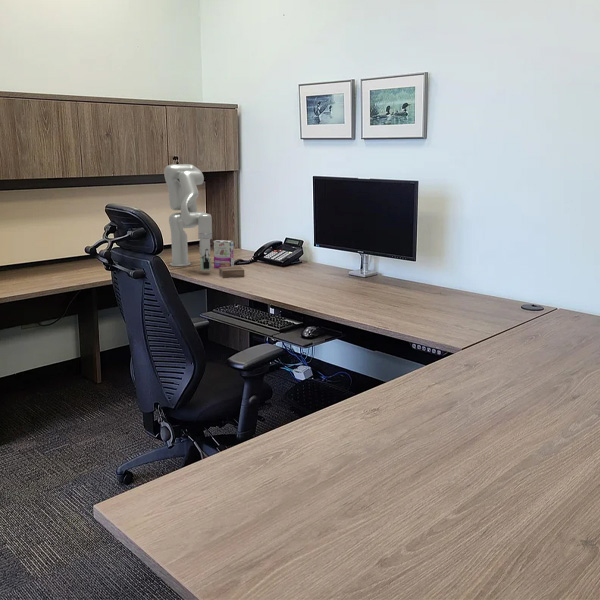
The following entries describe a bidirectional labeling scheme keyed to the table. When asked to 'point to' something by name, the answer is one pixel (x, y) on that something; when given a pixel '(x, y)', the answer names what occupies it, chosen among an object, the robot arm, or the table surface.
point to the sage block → (203, 264)
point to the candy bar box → (223, 253)
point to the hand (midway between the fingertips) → (205, 267)
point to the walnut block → (231, 271)
